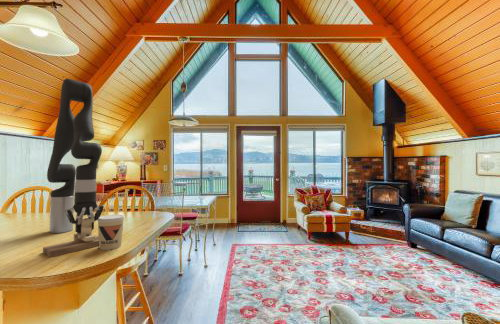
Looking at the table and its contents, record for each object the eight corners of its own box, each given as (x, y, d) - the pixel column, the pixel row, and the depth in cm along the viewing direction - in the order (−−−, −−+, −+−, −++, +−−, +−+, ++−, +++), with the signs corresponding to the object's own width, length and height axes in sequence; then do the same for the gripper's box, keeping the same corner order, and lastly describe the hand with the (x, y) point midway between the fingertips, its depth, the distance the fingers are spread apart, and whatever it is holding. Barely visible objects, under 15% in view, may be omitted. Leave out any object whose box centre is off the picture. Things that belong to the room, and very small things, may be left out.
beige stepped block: (73, 242, 101) (74, 218, 101) (86, 239, 105) (87, 216, 105) (83, 246, 96) (84, 221, 96) (96, 243, 100) (97, 219, 100)
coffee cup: (94, 251, 92) (95, 219, 93) (99, 244, 101) (99, 215, 101) (122, 248, 96) (123, 218, 96) (124, 242, 105) (125, 213, 105)
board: (42, 252, 91) (43, 247, 91) (100, 239, 107) (100, 235, 107) (50, 257, 86) (50, 251, 86) (109, 243, 103) (109, 238, 103)
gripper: (99, 188, 109) (98, 227, 109) (61, 191, 97) (60, 234, 97) (108, 189, 105) (107, 230, 104) (69, 192, 93) (68, 237, 93)
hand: (84, 232), depth 101 cm, fingers closed on beige stepped block, 3 cm apart
